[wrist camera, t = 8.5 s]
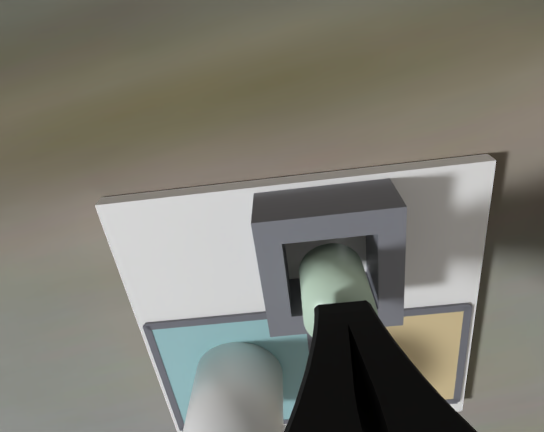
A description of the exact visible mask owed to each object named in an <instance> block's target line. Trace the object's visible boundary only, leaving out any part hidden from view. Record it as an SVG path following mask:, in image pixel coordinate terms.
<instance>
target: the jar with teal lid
mask: <svg viewBox="0 0 544 432" xmlns="http://www.w3.org/2000/svg"><path fill="white" fill-rule="evenodd" d="M183 432H284V425H283V371H282V367H281V365H280V363H279V361H278V360H277V358H276V357H275V356H274V355H273V354H272V353H270V352H269V351H268V350H266V349H264V348H262V347H260V346H258V345H255V344H251V343H245V342H230V343H225V344H221V345H218V346H216V347H213V348H212V349H210V350H209V351H207V352H206V353H205V354H204V355H203V356H202V357H201V359H200V360H199V363H198V365H197V369H196V374H195V378H194V383H193V387H192V392H191V396H190V401H189V405H188V410H187V414H186V419H185V423H184V428H183Z"/></svg>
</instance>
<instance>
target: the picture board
mask: <svg viewBox="0 0 544 432" xmlns="http://www.w3.org/2000/svg"><path fill="white" fill-rule="evenodd" d="M495 166H496V160H495V159H494V158H493V157H491V156H490V155H489V154H481V155H472V156H463V157H454V158H445V159H437V160H428V161H419V162H410V163H401V164H392V165H384V166H375V167H366V168H357V169H348V170H339V171H331V172H322V173H313V174H304V175H295V176H286V177H277V178H269V179H260V180H251V181H242V182H233V183H224V184H216V185H207V186H198V187H189V188H180V189H171V190H163V191H154V192H145V193H136V194H127V195H118V196H110V197H101V198H100V200H99V201H98V202H97V203H96V205H95V207H96V210H97V213H98V216H99V218H100V221H101V224H102V227H103V229H104V232H105V235H106V238H107V240H108V243H109V246H110V249H111V251H112V254H113V257H114V259H115V262H116V265H117V268H118V270H119V273H120V276H121V279H122V281H123V284H124V287H125V290H126V292H127V295H128V298H129V301H130V303H131V306H132V309H133V312H134V314H135V317H136V320H137V323H138V325H139V328H140V331H141V334H142V336H143V339H144V342H145V345H146V347H147V350H148V353H149V356H150V358H151V361H152V364H153V367H154V369H155V372H156V375H157V378H158V380H159V383H160V386H161V389H162V391H163V394H164V397H165V400H166V402H167V405H168V408H169V411H170V413H171V416H172V419H173V422H174V424H175V427H176V430H177V432H183V428H184V423H185V419H186V414H187V410H188V405H189V401H190V396H191V392H192V387H193V383H194V378H195V374H196V369H197V365H198V363H199V360H200V359H201V357H202V356H203V355H204V354H205V353H206V352H207V351H209V350H210V349H212V348H213V347H216V346H218V345H221V344H225V343H230V342H245V343H251V344H255V345H258V346H260V347H262V348H264V349H266V350H268V351H269V352H270V353H272V354H273V355H274V356H275V357H276V358H277V360H278V361H279V363H280V365H281V367H282V371H283V425H287V423H288V421H289V418H290V415H291V413H292V410H293V407H294V404H295V401H296V398H297V395H298V392H299V388H300V385H301V382H302V379H303V376H304V372H305V368H306V364H307V360H308V355H309V351H310V347H311V341H312V336H310V335H309V333H308V332H307V330H306V329H305V326H304V322H303V311H302V300H301V288H300V277H299V266H300V263H301V261H302V259H303V257H304V256H305V255H306V254H307V253H308V252H309V251H310V250H312V249H313V248H315V247H317V246H320V245H323V244H329V243H337V244H343V245H346V246H348V247H350V248H352V249H353V250H354V251H356V253H357V254H358V255H359V256H360V258H361V260H362V263H363V267H364V270H365V273H366V276H367V279H368V282H369V285H370V289H371V292H372V295H373V298H374V301H375V304H376V307H377V311H378V317H379V318H380V320H381V321H382V323H383V324H384V326H385V327H386V329H387V330H388V332H389V333H390V334H391V336H392V337H393V338H394V340H395V341H396V342H397V344H398V345H399V346H400V348H401V349H402V350H403V351H404V353H405V354H406V355H407V356H408V358H409V359H410V360H411V361H412V363H413V364H414V365H415V366H416V368H417V369H418V370H419V371H420V372H421V373H422V375H423V376H424V377H425V378H426V379H427V380H428V382H429V383H430V384H431V385H432V386H433V387H434V388H435V389H436V390H437V392H438V393H439V394H440V395H441V396H442V397H443V398H444V399H445V400H446V401H447V402H448V403H449V404H450V405H451V406H452V407H453V408H454V409H455V411H462V408H463V401H464V393H465V386H466V379H467V371H468V364H469V357H470V349H471V342H472V335H473V327H474V320H475V313H476V305H477V298H478V291H479V283H480V276H481V269H482V261H483V254H484V247H485V239H486V232H487V225H488V217H489V210H490V203H491V195H492V188H493V181H494V173H495Z"/></svg>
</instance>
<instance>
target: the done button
mask: <svg viewBox="0 0 544 432" xmlns="http://www.w3.org/2000/svg"><path fill="white" fill-rule="evenodd" d="M299 277H300V288H301V300H302V311H303V322H304V326H305V329H306V330H307V332H308V333H309V335H310V336H313V329H314V308H315V307H316V306H317V305H321V304H332V303H342V302H353V301H364V300H366V301H368V302H369V303H370V304H371V305H372V307H373V309H374V310H375V312H376V314H377V315H378V311H377V307H376V304H375V301H374V298H373V295H372V292H371V289H370V285H369V282H368V279H367V276H366V273H365V270H364V267H363V263H362V260H361V258H360V256H359V255H358V254H357V253H356V251H354V250H353V249H352V248H350V247H348V246H346V245H343V244H337V243H329V244H323V245H320V246H317V247H315V248H313V249H312V250H310V251H309V252H308V253H307V254H306V255H305V256H304V257H303V259H302V261H301V263H300V266H299Z"/></svg>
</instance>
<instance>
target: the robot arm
mask: <svg viewBox="0 0 544 432" xmlns="http://www.w3.org/2000/svg"><path fill="white" fill-rule="evenodd" d="M284 432H477V431H476V430H475V429H474V428H473V427H472V426H471V425H470V424H469V423H468V422H467V421H466V420H465V419H464V418H463V417H461V416H460V415H459V414H458V413H457V412H456V411H455V409H454V408H453V407H452V406H451V405H450V404H449V403H448V402H447V401H446V400H445V399H444V398H443V397H442V396H441V395H440V394H439V393H438V392H437V390H436V389H435V388H434V387H433V386H432V385H431V384H430V383H429V382H428V380H427V379H426V378H425V377H424V376H423V375H422V373H421V372H420V371H419V370H418V369H417V368H416V366H415V365H414V364H413V363H412V361H411V360H410V359H409V358H408V356H407V355H406V354H405V353H404V351H403V350H402V349H401V348H400V346H399V345H398V344H397V342H396V341H395V340H394V338H393V337H392V336H391V334H390V333H389V332H388V330H387V329H386V327H385V326H384V324H383V323H382V321H381V320H380V318H379V317H378V315H377V314H376V312H375V310H374V309H373V307H372V305H371V304H370V303H369V302H368V301H366V300H364V301H353V302H342V303H332V304H321V305H317V306H316V307H315V308H314V329H313V336H312V341H311V347H310V351H309V355H308V360H307V364H306V368H305V372H304V376H303V379H302V382H301V385H300V388H299V392H298V395H297V398H296V401H295V404H294V407H293V410H292V413H291V415H290V418H289V421H288V423H287V426H286V428H285V431H284Z"/></svg>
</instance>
